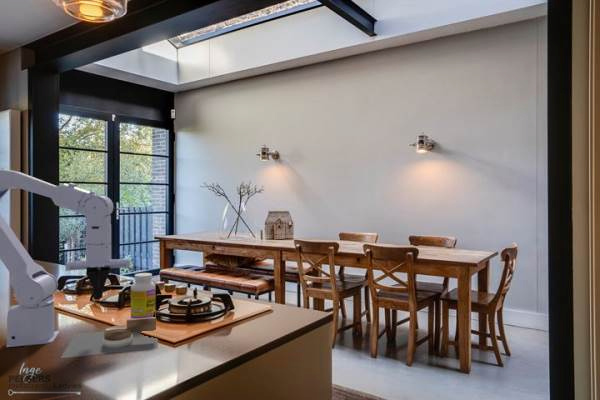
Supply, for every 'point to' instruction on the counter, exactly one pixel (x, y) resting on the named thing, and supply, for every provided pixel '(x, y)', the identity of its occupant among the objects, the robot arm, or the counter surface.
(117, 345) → the jar
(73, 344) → the mat
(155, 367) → the counter surface
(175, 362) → the counter surface
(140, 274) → the supplement bottle
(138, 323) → the cap
